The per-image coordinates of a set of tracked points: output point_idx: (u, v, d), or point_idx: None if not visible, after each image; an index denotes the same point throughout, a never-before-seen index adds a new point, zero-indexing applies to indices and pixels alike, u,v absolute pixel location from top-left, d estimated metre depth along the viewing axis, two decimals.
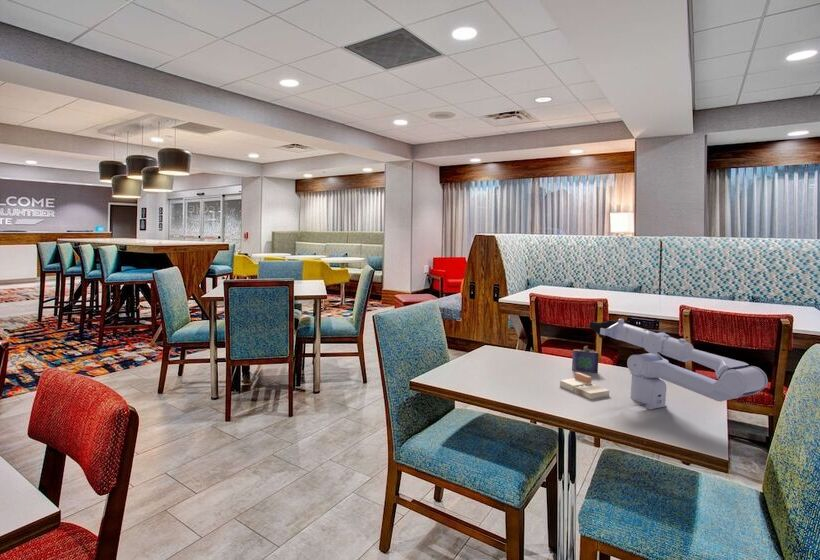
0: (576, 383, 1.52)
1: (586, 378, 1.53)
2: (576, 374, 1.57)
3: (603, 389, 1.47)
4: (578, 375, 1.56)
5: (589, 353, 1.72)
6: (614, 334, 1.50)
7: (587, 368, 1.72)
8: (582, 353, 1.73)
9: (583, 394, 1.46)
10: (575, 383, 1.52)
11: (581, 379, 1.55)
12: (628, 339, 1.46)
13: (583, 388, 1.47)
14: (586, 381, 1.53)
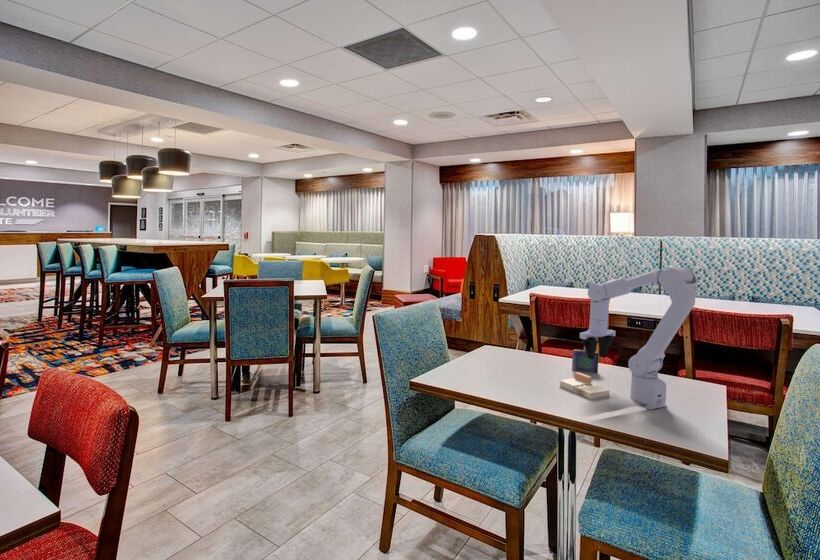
0: (576, 383, 1.52)
1: (586, 378, 1.53)
2: (576, 374, 1.57)
3: (603, 389, 1.47)
4: (578, 375, 1.56)
5: None
6: (594, 332, 1.54)
7: (587, 368, 1.72)
8: (582, 353, 1.73)
9: (583, 394, 1.46)
10: (575, 383, 1.52)
11: (581, 379, 1.55)
12: (597, 317, 1.53)
13: (583, 388, 1.47)
14: (586, 381, 1.53)
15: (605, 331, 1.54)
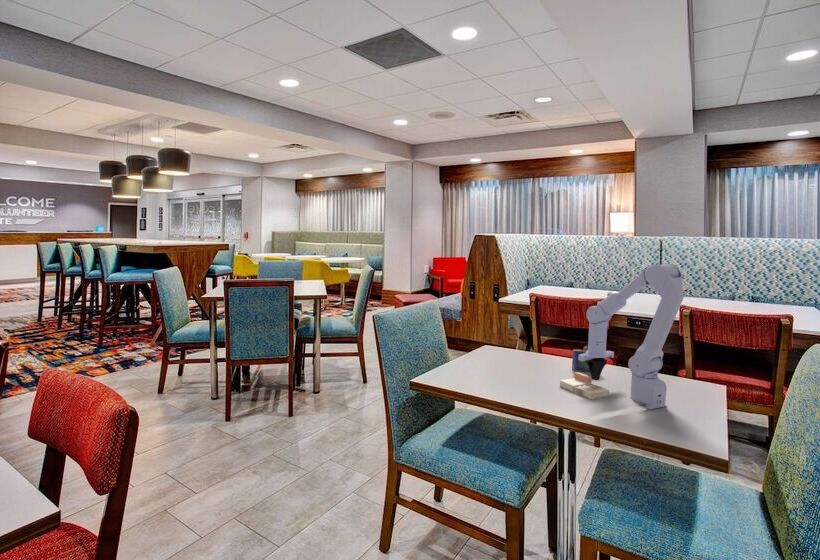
0: (576, 383, 1.52)
1: (586, 378, 1.53)
2: (576, 374, 1.57)
3: (603, 389, 1.47)
4: (578, 375, 1.56)
5: None
6: (592, 354, 1.55)
7: (587, 368, 1.72)
8: (582, 353, 1.73)
9: (583, 394, 1.46)
10: (575, 383, 1.52)
11: (581, 379, 1.55)
12: (596, 339, 1.54)
13: (583, 388, 1.47)
14: (586, 381, 1.53)
15: (604, 353, 1.54)
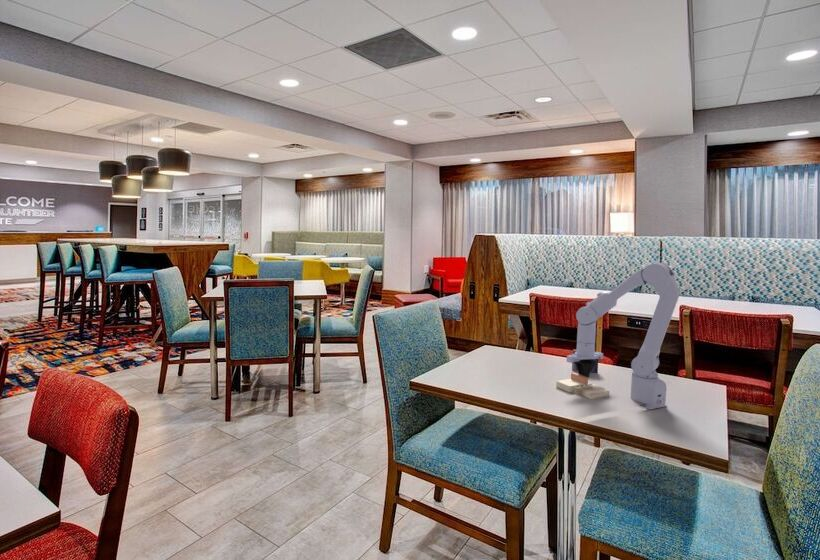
0: (572, 383, 1.52)
1: (583, 379, 1.52)
2: (573, 375, 1.56)
3: (603, 389, 1.47)
4: (575, 376, 1.55)
5: None
6: (581, 355, 1.53)
7: None
8: None
9: (583, 394, 1.46)
10: (571, 384, 1.51)
11: (578, 380, 1.54)
12: (587, 340, 1.51)
13: (583, 388, 1.47)
14: (583, 382, 1.52)
15: (592, 354, 1.52)
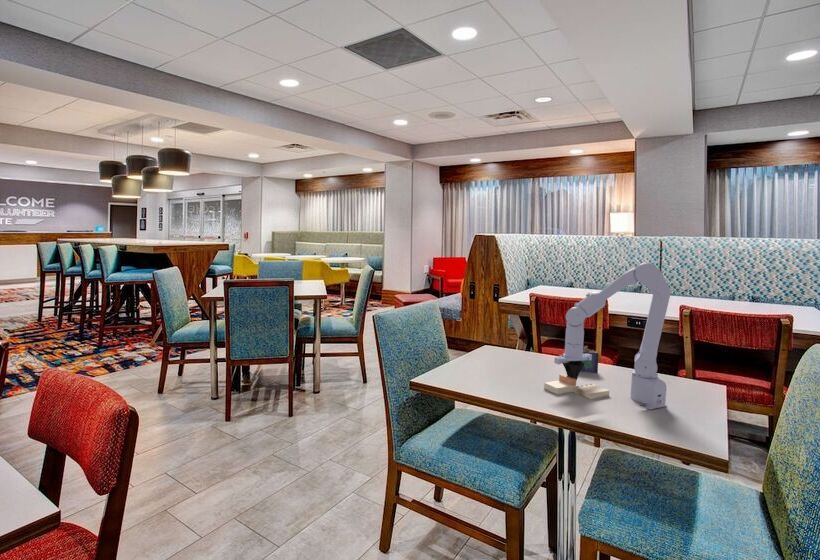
0: (560, 385, 1.49)
1: (571, 380, 1.50)
2: (561, 376, 1.54)
3: (603, 389, 1.47)
4: (563, 377, 1.53)
5: (589, 353, 1.72)
6: (569, 357, 1.50)
7: (587, 368, 1.72)
8: None
9: (583, 394, 1.46)
10: (559, 386, 1.49)
11: (566, 381, 1.52)
12: (577, 341, 1.49)
13: (583, 388, 1.47)
14: (571, 383, 1.50)
15: (580, 356, 1.50)
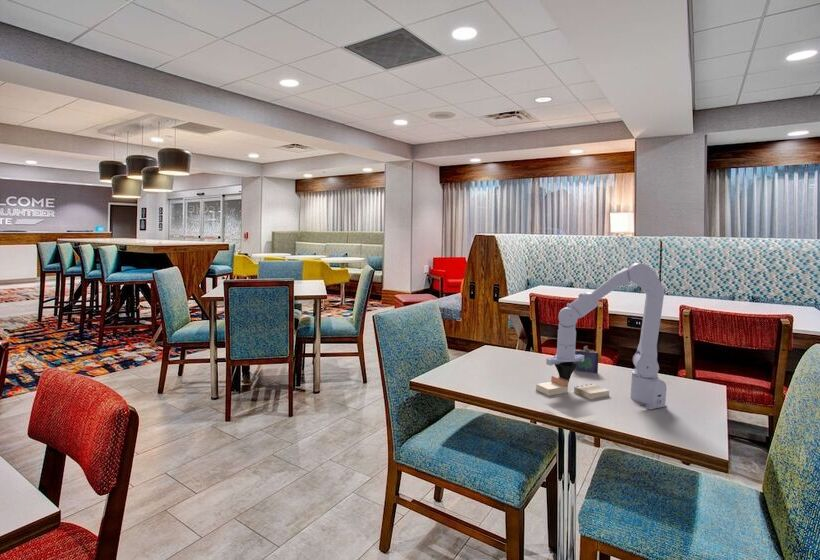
0: (552, 386, 1.48)
1: (562, 382, 1.48)
2: (553, 377, 1.52)
3: (603, 389, 1.47)
4: (555, 378, 1.52)
5: (589, 353, 1.72)
6: (561, 358, 1.49)
7: (587, 368, 1.72)
8: (582, 353, 1.73)
9: (583, 394, 1.46)
10: (551, 387, 1.48)
11: (558, 383, 1.50)
12: (570, 342, 1.48)
13: (583, 388, 1.47)
14: (563, 385, 1.48)
15: (572, 357, 1.49)
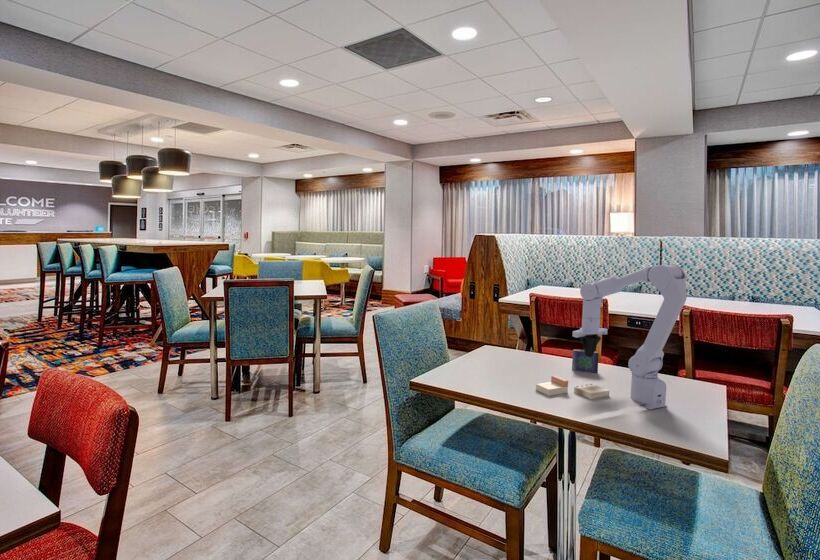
0: (552, 386, 1.48)
1: (562, 382, 1.48)
2: (553, 377, 1.52)
3: (603, 389, 1.47)
4: (555, 378, 1.52)
5: None
6: (586, 331, 1.56)
7: (587, 368, 1.72)
8: (582, 353, 1.73)
9: (583, 394, 1.46)
10: (551, 387, 1.47)
11: (558, 383, 1.50)
12: (589, 315, 1.56)
13: (583, 388, 1.47)
14: (562, 385, 1.48)
15: (597, 329, 1.56)
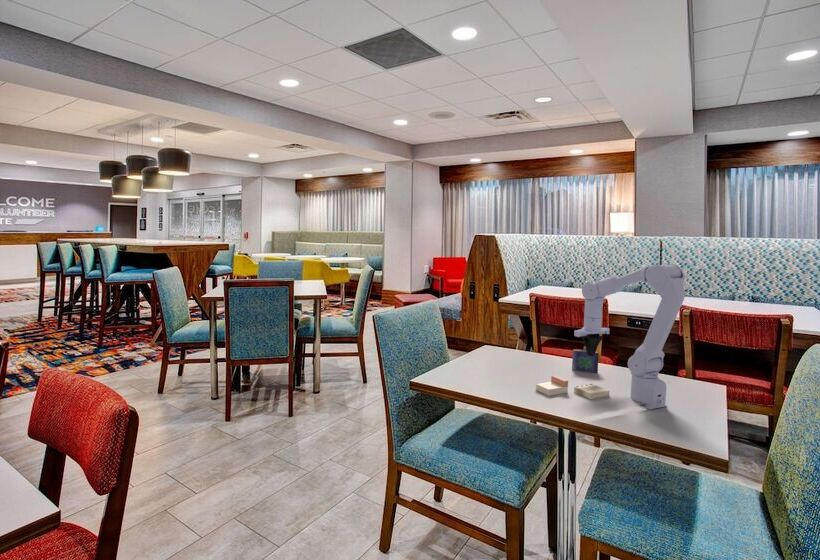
0: (552, 386, 1.48)
1: (562, 382, 1.48)
2: (553, 377, 1.52)
3: (603, 389, 1.47)
4: (555, 378, 1.52)
5: None
6: (588, 330, 1.58)
7: (587, 368, 1.72)
8: (582, 353, 1.73)
9: (583, 394, 1.46)
10: (551, 387, 1.47)
11: (558, 383, 1.50)
12: (590, 315, 1.57)
13: (583, 388, 1.47)
14: (562, 385, 1.48)
15: (599, 329, 1.57)
